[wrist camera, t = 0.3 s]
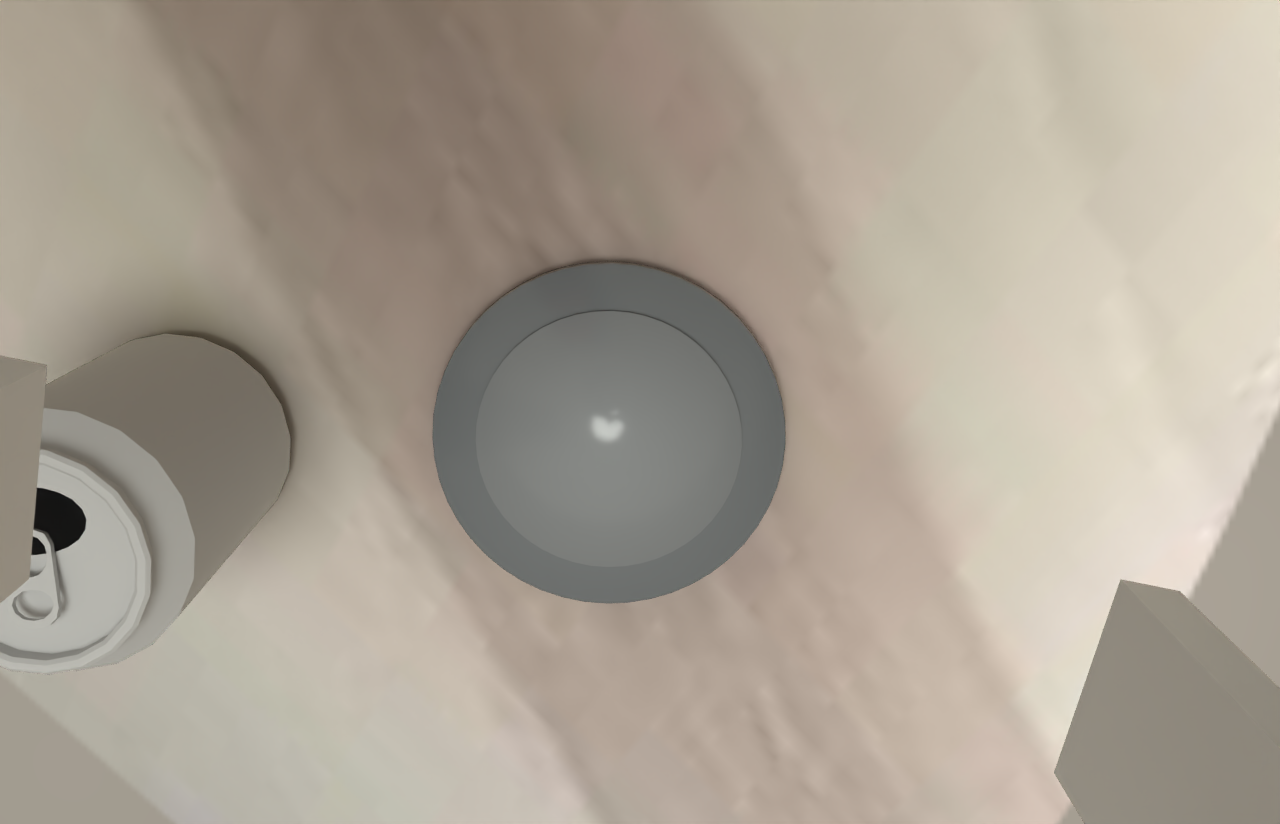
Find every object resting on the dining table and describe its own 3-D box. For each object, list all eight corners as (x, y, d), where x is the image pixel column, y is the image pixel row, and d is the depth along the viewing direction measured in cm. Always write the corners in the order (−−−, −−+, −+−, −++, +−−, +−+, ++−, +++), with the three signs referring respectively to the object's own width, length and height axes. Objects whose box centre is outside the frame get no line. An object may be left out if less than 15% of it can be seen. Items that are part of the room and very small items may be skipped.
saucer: (393, 308, 41) (387, 314, 40) (741, 223, 41) (743, 227, 40) (489, 626, 44) (485, 639, 43) (814, 552, 44) (818, 564, 43)
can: (285, 324, 42) (150, 419, 30) (309, 532, 44) (190, 696, 32) (64, 332, 42) (-155, 430, 30) (98, 539, 44) (-97, 706, 32)
